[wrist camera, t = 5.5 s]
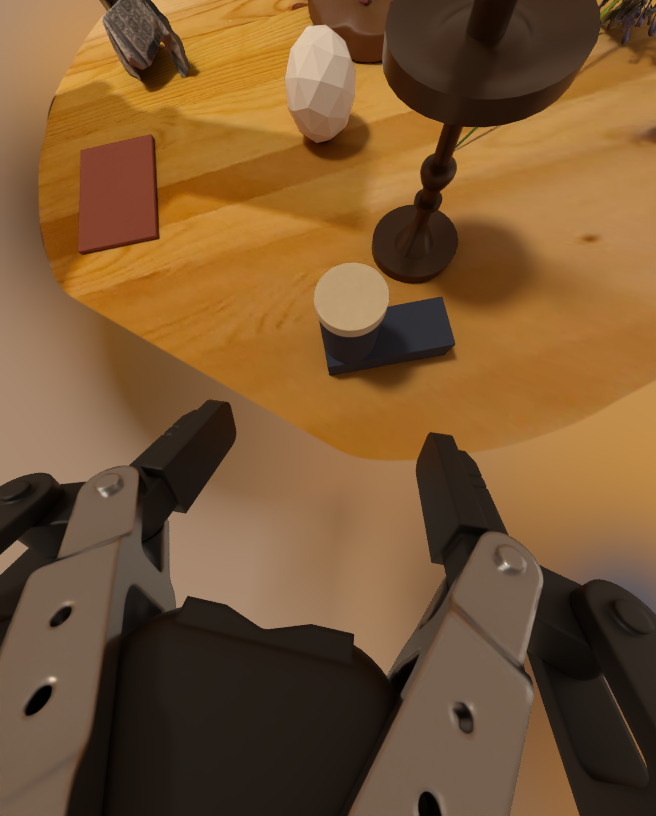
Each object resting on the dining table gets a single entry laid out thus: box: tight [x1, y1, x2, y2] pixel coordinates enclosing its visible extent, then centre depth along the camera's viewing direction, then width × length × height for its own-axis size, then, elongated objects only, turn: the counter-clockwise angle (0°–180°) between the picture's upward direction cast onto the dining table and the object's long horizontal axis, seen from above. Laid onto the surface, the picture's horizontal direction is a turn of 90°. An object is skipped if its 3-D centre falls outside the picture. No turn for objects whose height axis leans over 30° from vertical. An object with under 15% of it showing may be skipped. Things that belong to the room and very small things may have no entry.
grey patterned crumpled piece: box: [100, 0, 190, 80], centre depth 32 cm, size 8×7×12 cm
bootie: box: [314, 263, 455, 375], centre depth 21 cm, size 12×5×9 cm, turn 99°
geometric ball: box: [285, 25, 356, 143], centre depth 27 cm, size 8×8×8 cm
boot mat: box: [78, 134, 158, 254], centre depth 31 cm, size 16×10×1 cm, turn 9°
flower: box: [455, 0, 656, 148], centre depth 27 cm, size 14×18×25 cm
